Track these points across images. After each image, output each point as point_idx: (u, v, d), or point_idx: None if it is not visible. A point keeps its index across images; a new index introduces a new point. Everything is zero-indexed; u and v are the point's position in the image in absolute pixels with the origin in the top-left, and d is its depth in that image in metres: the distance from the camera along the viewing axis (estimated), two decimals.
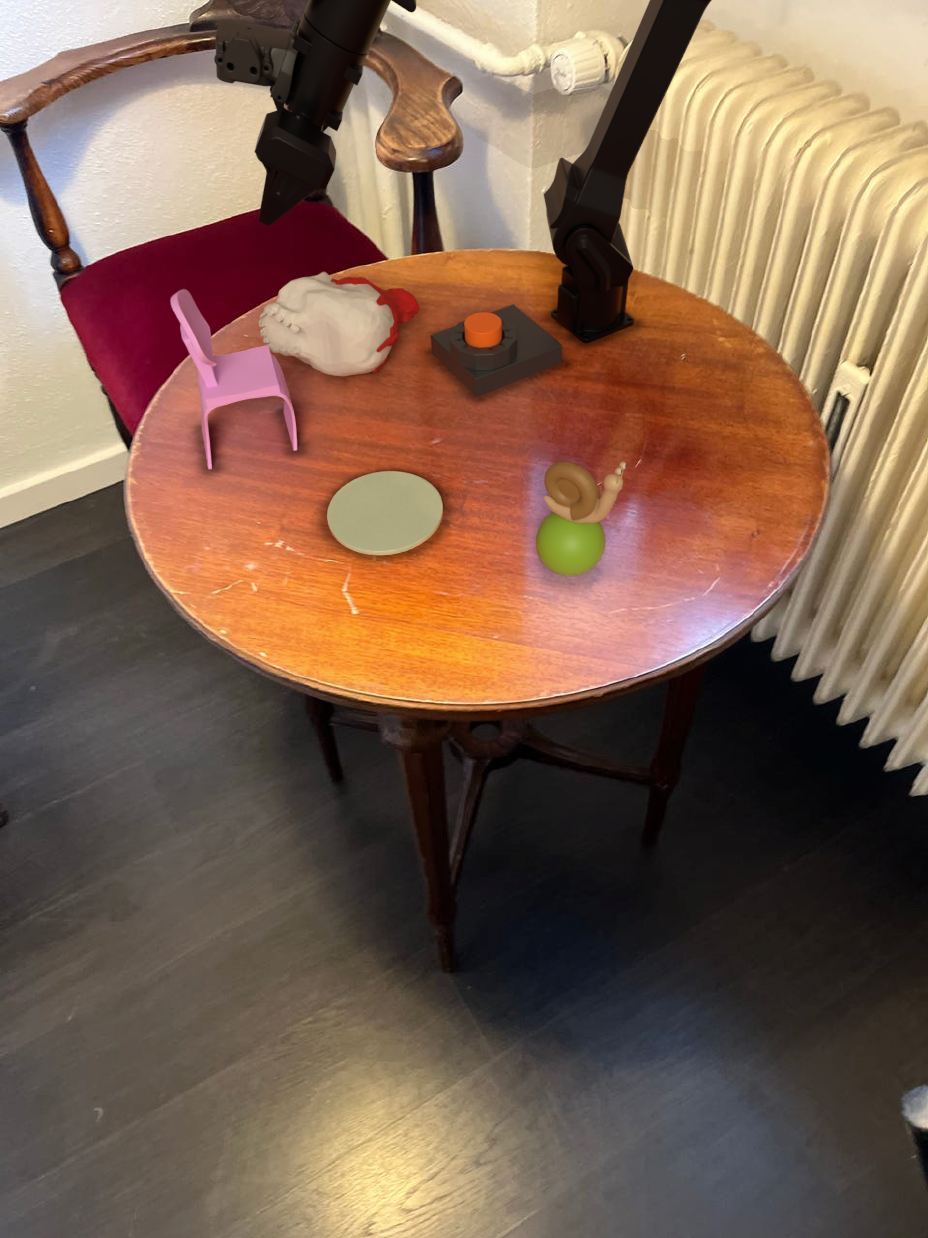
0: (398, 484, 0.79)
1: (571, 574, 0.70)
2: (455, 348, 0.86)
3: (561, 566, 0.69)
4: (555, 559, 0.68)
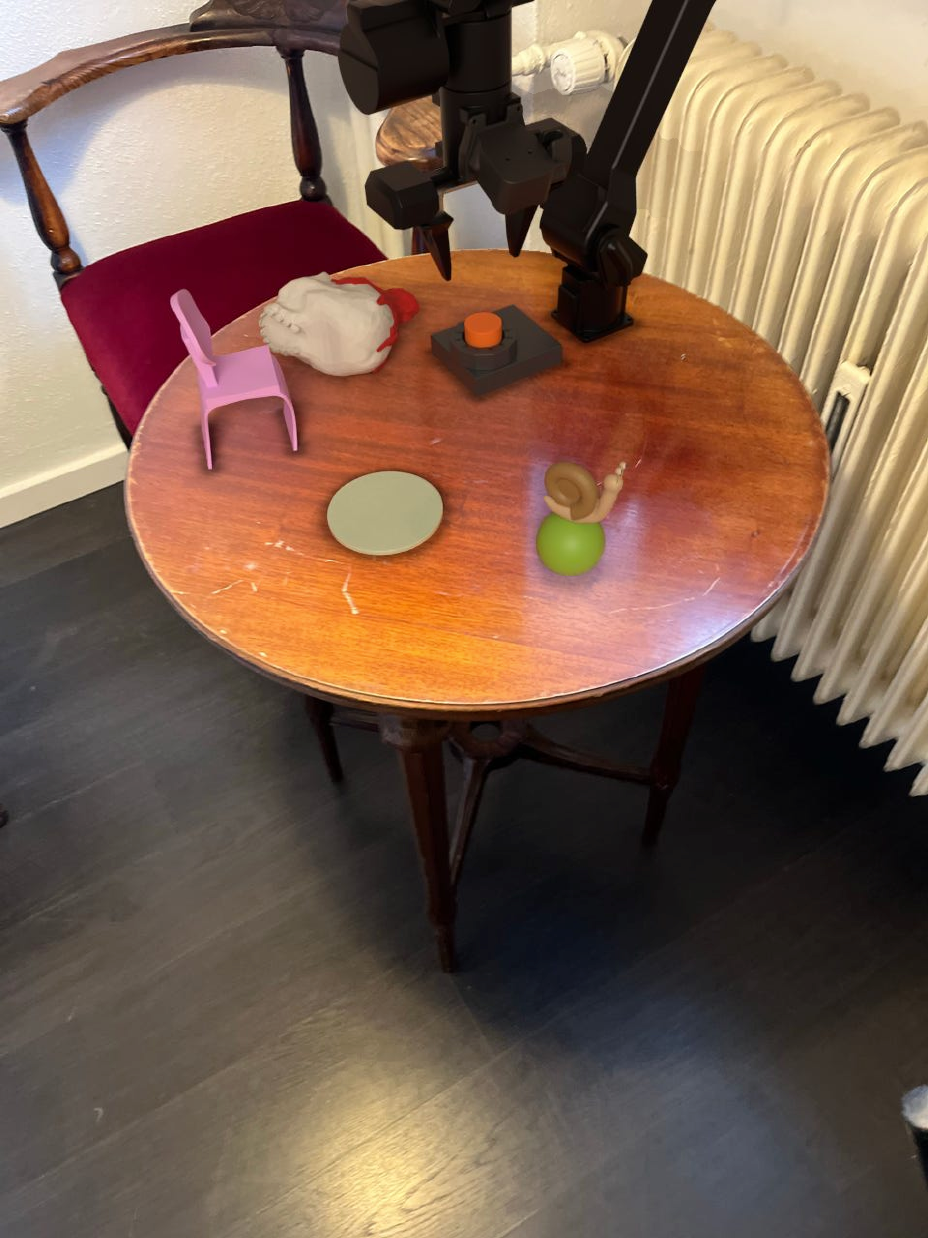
0: (398, 484, 0.79)
1: (571, 574, 0.70)
2: (455, 348, 0.86)
3: (561, 566, 0.69)
4: (555, 559, 0.68)
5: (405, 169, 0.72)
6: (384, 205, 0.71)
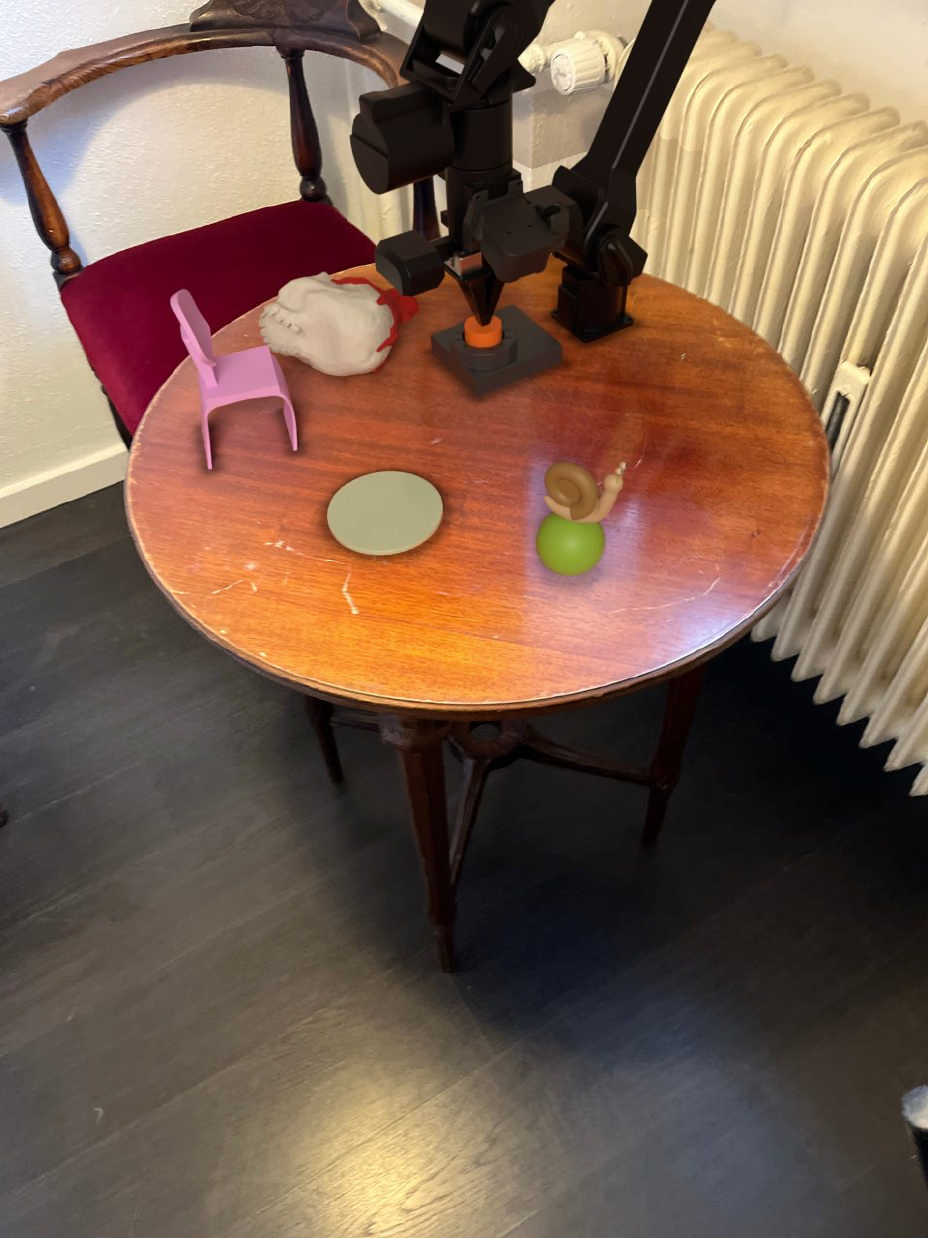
0: (398, 484, 0.79)
1: (571, 574, 0.70)
2: (455, 348, 0.86)
3: (561, 566, 0.69)
4: (555, 559, 0.68)
5: (412, 238, 0.76)
6: (393, 273, 0.76)
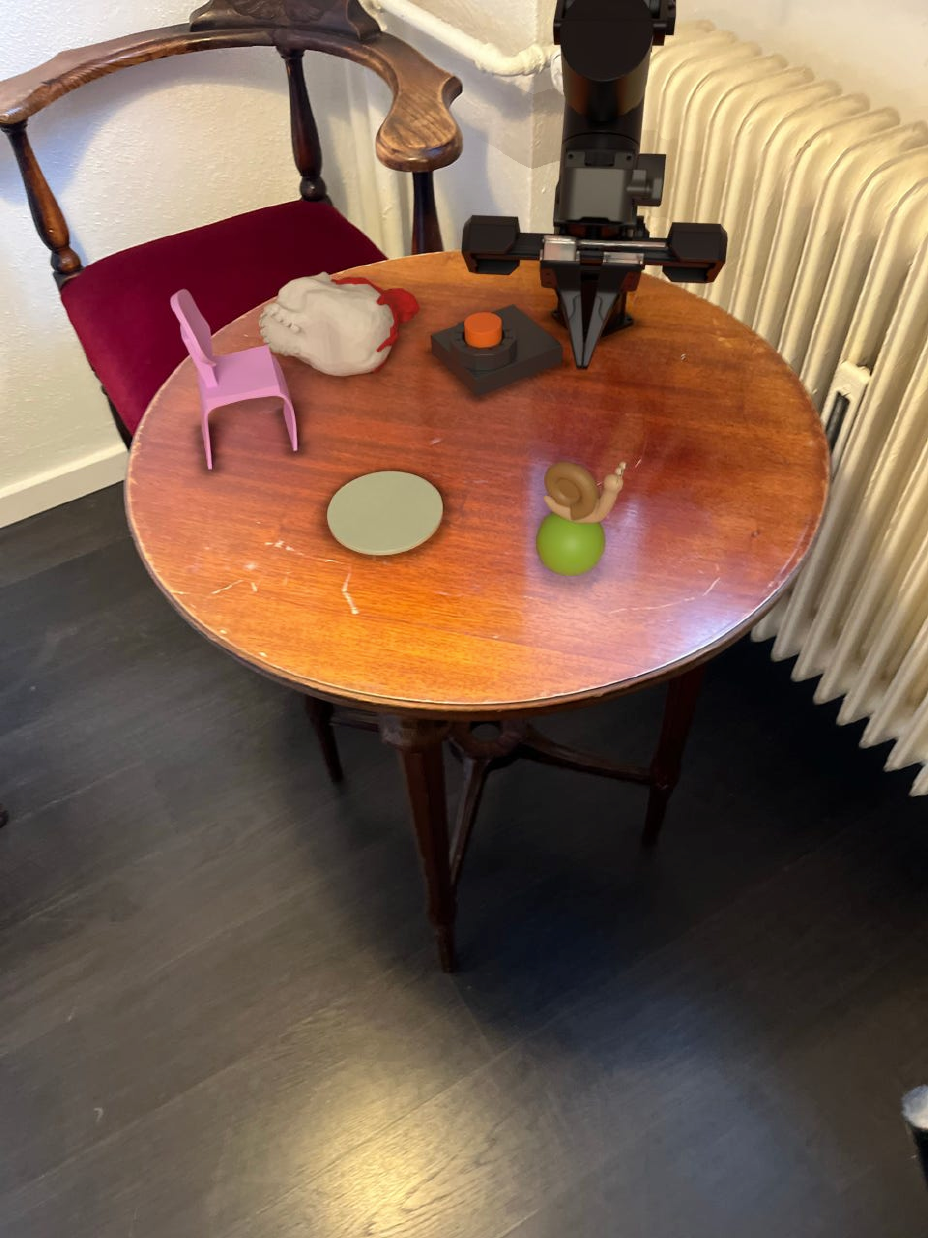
0: (398, 484, 0.79)
1: (571, 574, 0.70)
2: (455, 348, 0.86)
3: (561, 566, 0.69)
4: (555, 559, 0.68)
5: None
6: None
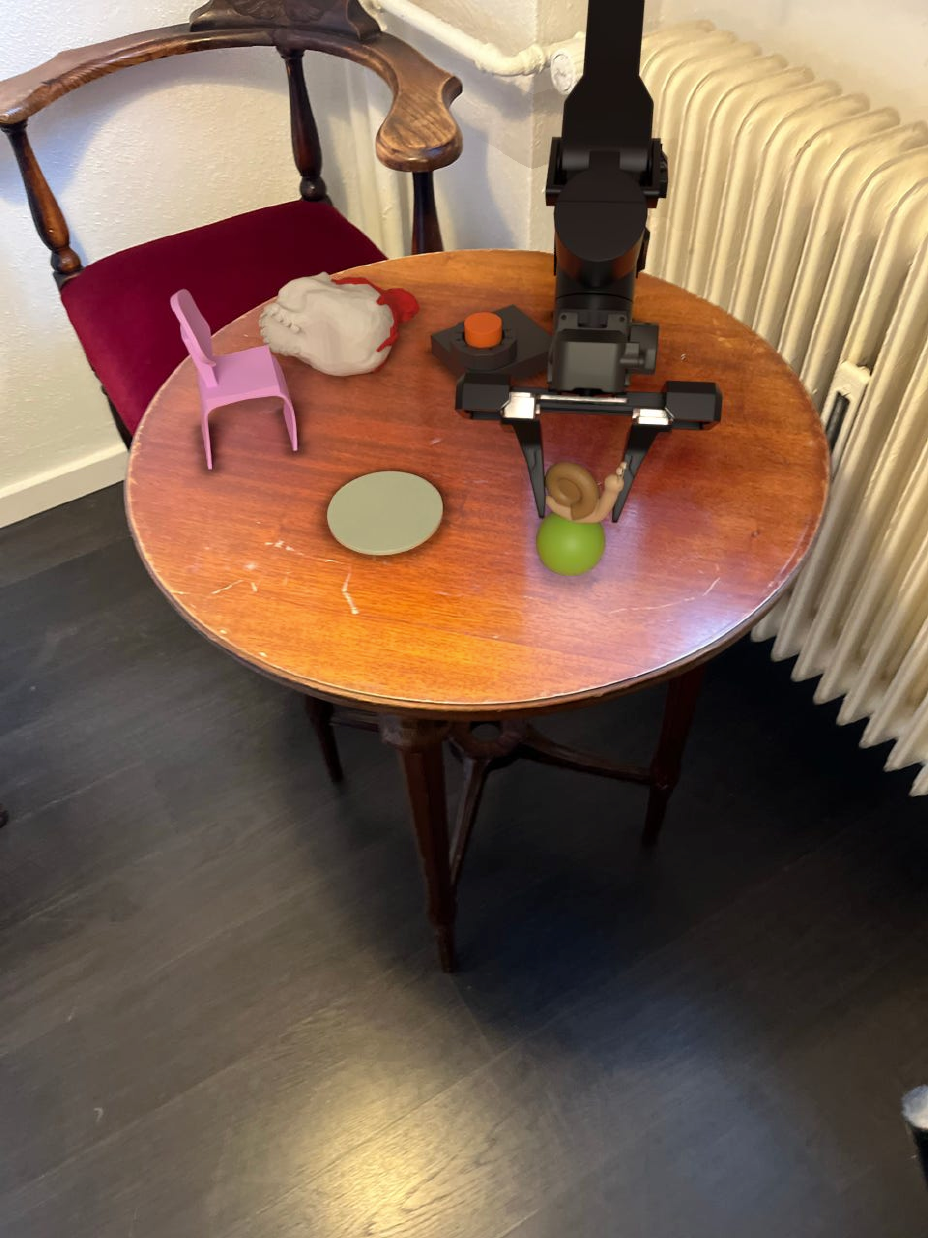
0: (398, 484, 0.79)
1: (571, 574, 0.70)
2: (455, 348, 0.86)
3: (561, 566, 0.69)
4: (555, 559, 0.68)
5: None
6: None
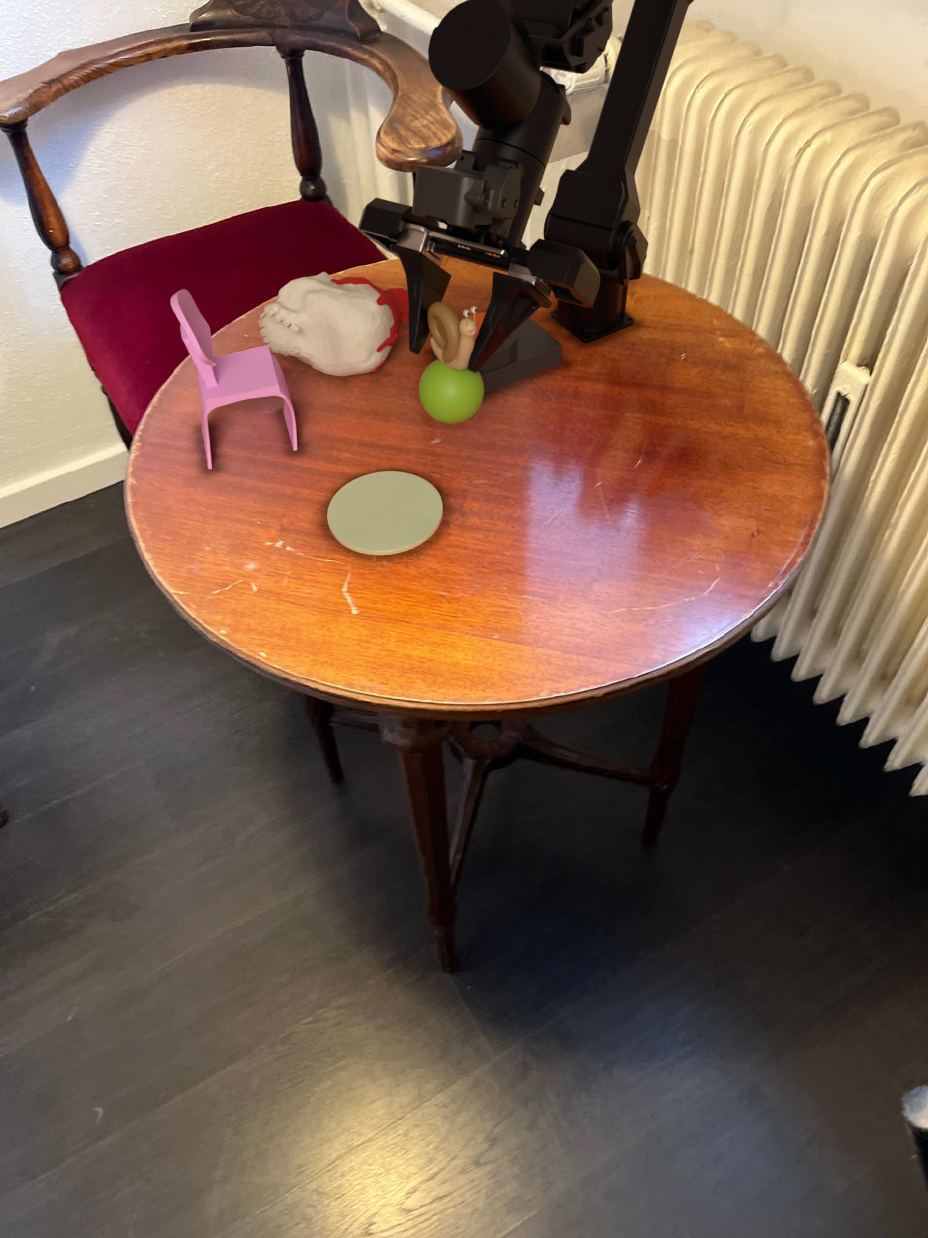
0: (398, 484, 0.79)
1: (439, 419, 0.73)
2: None
3: (428, 406, 0.73)
4: (424, 399, 0.72)
5: None
6: None
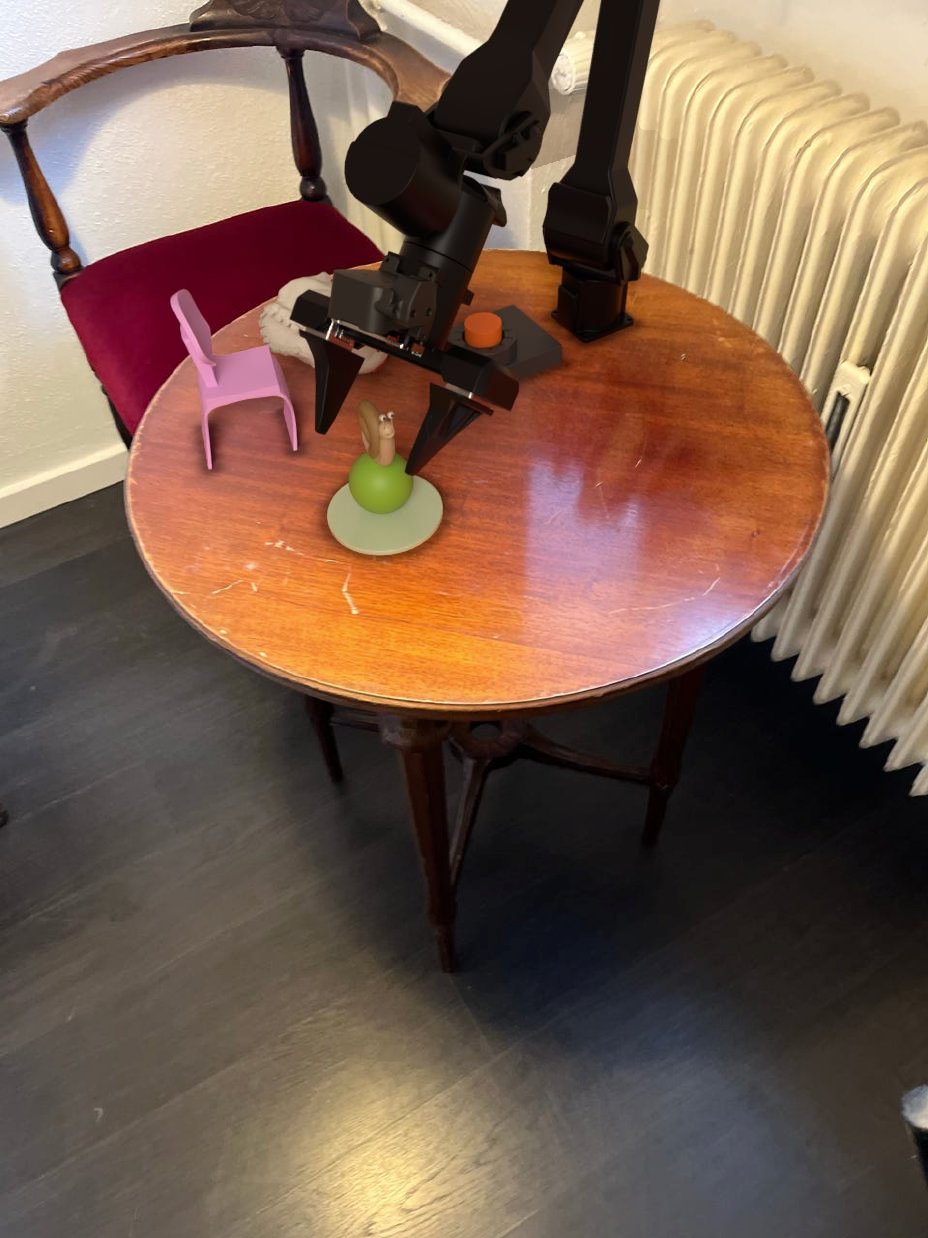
0: None
1: (366, 509, 0.74)
2: None
3: (355, 497, 0.74)
4: (351, 489, 0.74)
5: None
6: None
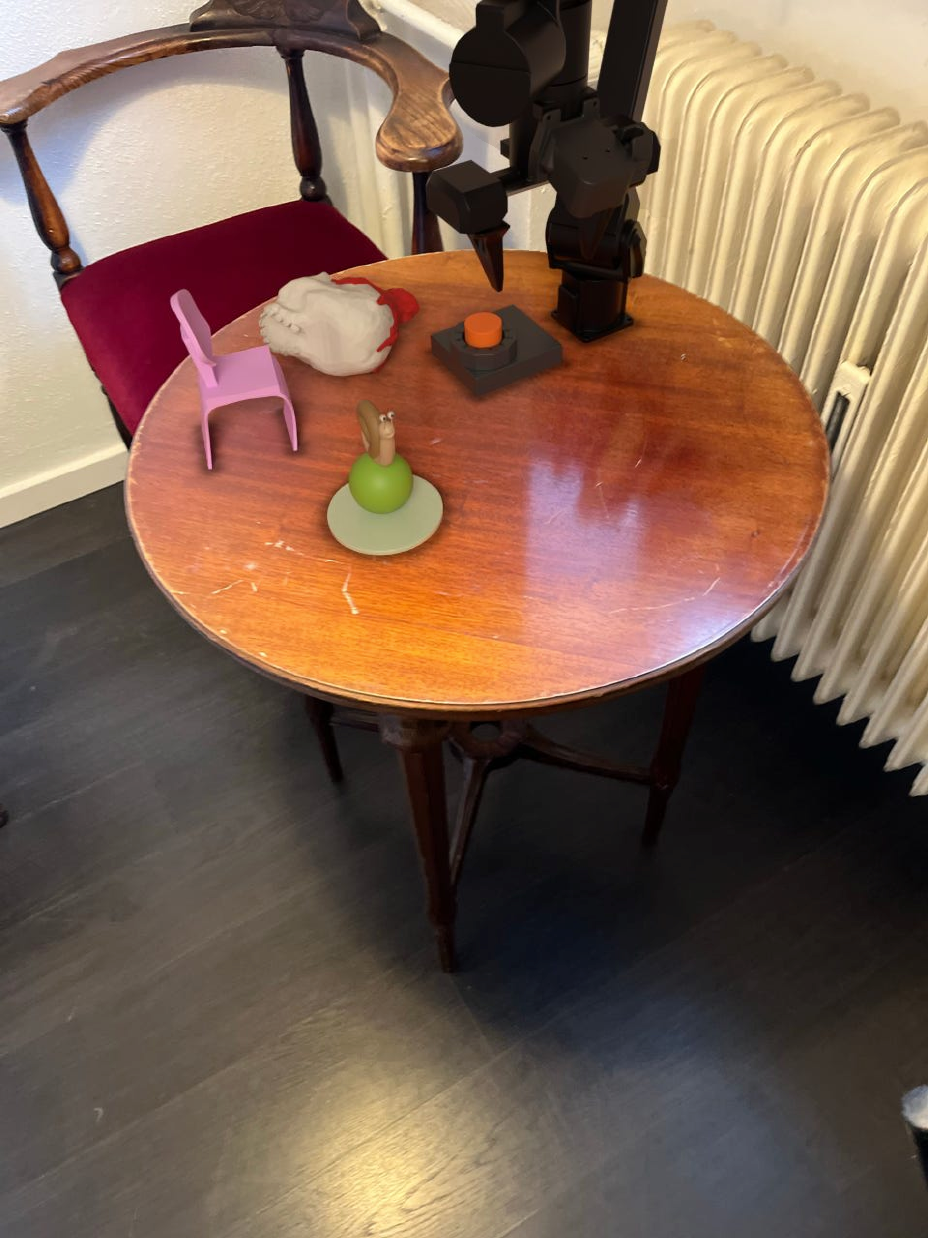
0: None
1: (366, 509, 0.74)
2: (455, 348, 0.86)
3: (355, 497, 0.74)
4: (351, 489, 0.74)
5: (470, 169, 0.67)
6: (449, 208, 0.66)
